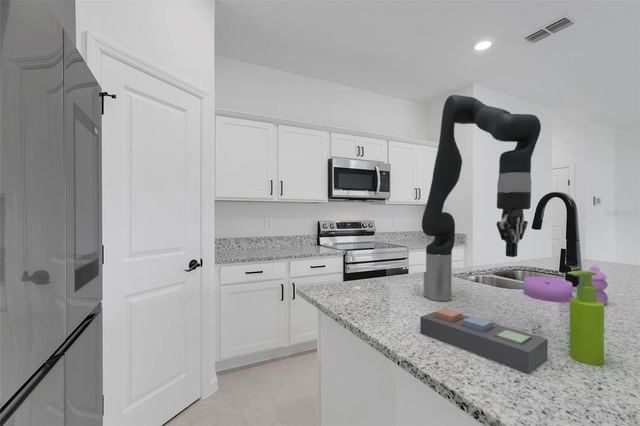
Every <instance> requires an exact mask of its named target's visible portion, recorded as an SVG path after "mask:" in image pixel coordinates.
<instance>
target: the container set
mask: <svg viewBox="0 0 640 426" xmlns="http://www.w3.org/2000/svg"><path fill="white" fill-rule="evenodd" d="M589 271H590V272H594V273H596V275H592V285H593V286H595V287H596V288H597V301H599V302H601V303H603V304H604V305H605V304H606V303H607V302H608V300H609V297H608V294H607V293H606V291H604V290H606V289H607V287H608V282H607V281H606V279H607V275H606V273H603V272H601V271H599V268H598V267H595V266H594V267H593V266H590V267H589ZM580 284H582V278H581V280H580ZM524 294H525V296H526V295H527V296H526V297H528V296H529V297H528V298H530V297H531V299H534V298H535V300H538V299H539V301H545V302H550V301H551V302H552V303H570V299H571V298H573V282H572V281H569V280H565V279H561V278H555V277H548V276H546V277H545V276H525V277H523V295H524ZM551 302H550V303H551Z"/></svg>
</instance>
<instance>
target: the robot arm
mask: <svg viewBox="0 0 640 426" xmlns="http://www.w3.org/2000/svg"><path fill="white" fill-rule="evenodd" d="M440 123H441V124H440V134H439V142H438V147H437V151H436V157H435V162H434V168H433V171H432V172H433V173H432V179H431V183H430V184H431V185H430V188H429V193H428V198H427V201H426V204H425V205H426V206H425V207H424V208H425V209H424V212H423V215H422V219H421V229H422V232H423V233H424V234H425V236H428V237H434V239H433V240H432V241H431V243H428V244H427V245H426V247H425V271H424V272H423V297H426V298H427V299H429V300H432V301H437V302H448V301H451V300H452V291H453V290H452V288H453V287H452V286H453V285H452V283H453V282H452V279H453V277H452V276H453V275H452V274H453V273H452V271H453V267H452V266H453V265H452V263H453V262H452V260H453V258H452V255H453V253H452V252H453V248H454V246H455V233H456V223H455V219H454V217H453V215H452V214H451V213H449V212H445V211H444V212H443V209H444V205H445V202H446V200H447V199H448V197H449V195H450V194H451V192H452V191H453V190H454V189H455V187H456V186H457V183H458V182H459V181H460V176H461V171H462V166H463V158H462V155H461V151H460V150H459V147H458V145H457V142H456V139H455V138H456V137H455V125H456V124H458V125H459V124H461V125H468V124H470V125H472V124H473V125H476V127H477V128H478V129H480V130H482V131H483V132H486V133H488V134H490V135H491V137H492V138H493V139H494V140H496V141H499V142H503V143H504V142H505V143H506V142H507V143H508V142H509V143H516V145H515V147H514V149H511V150H507V151H504V152H502V153H501V154H500V156H499V162H498V163H499V165H498V166H499V167H498V168H499V169H498V179H497V189H496V190H497V192H496V208H497V209H499V210H502V213H501V221H497V222H496V228H497V229H498V233H499V236H500V238H501V241H504V242H505V256H506V257H508V258H509V257H510V258H515V257H517V256H518V247H519V246H518V244H519V243H520V240H521V241H522V240H523V238H524V234H525V232H526V229H527V226H528V223H529V222H528V220H525V216H524V210H530V209H531V203H532V202H531V200H532V176H531V173H532V171H531V170H532V157H533V154H534V152H535V148H536V144H537V142H538V139H539V137H540V134H541V129H542V125H541V121H540V119H539V118H538V116H537V115H535V114H531V113H530V114H529V113H526V114H525V113H524V114H523V113H511V112H510V111H509V110H506V109H503V108H500V107H495V106H490V105H486V104H485V103H483V102H482V101H481V100H479V99H478V98H475V97H473V96H468V95H467V96H466V95H458V94H451V95H449V96H448V97H447V99H446V100H445V102H444V105H443V108H442V113H441V122H440Z"/></svg>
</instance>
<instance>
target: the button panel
mask: <svg viewBox="0 0 640 426" xmlns="http://www.w3.org/2000/svg"><path fill="white" fill-rule="evenodd" d="M469 317H470V316H469V315H464V314H462V320H459V321H457V322H454V323H450V322H447V321H444V320H441V319H438V318H435V311H433V312H430V313H427V314H423V315H420V319H419V320H420V321H419V324H420V325H419V329H420V330H419V331H420V332H419V333H420V334H422V335H425V336H427V337H430V338H433V339H435V340H438V341H440V342H444V343H446V344H448V345H451V346H453V347H457V348H459V349H461V350H465V351H467V352H469V353H472V354H475V355H476V356H477V355H478V356H480V357H483V358H486V359H487V360H491V361H494V362H495V363H499V364H502V365H505V366H506V367H509V368H513V369H515V370H518V371H520V372H523V373H525V374H528V375H530V373H532V372H533V371H535V370H536V369H537V368H538V367H539V366H540V365H542V363H544V362H545V361H547V359H548V357H549V356H548V352H549V351H548V348H549V347H548V346H549V345H548V343H549V341H548V340H549V338H545V337H544V336H543V337H542V336H539V335H535V334H532V333H528V332H525V331H521V330H519V329H514V328H511V327H507V326H504V325H500V324H497V323H494V322H493V329H492V330H490V331H488V332H486V333H482V332H479V331H476V330H473V329H469V328H466V327H463V320H464V319H467V318H469ZM505 330H508V331H511V332H515V333H518V334H522V335H525V336H529V337H530V341H528V342H527V343H525V344H524V345H520V344H517V343H514V342H511V341H507V340H504V339H501V338H498V337H497V335H498V334H500V333H501V332H503V331H505Z"/></svg>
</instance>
